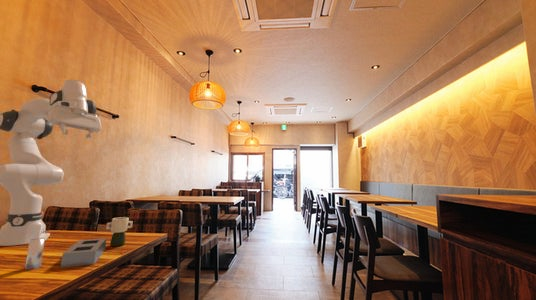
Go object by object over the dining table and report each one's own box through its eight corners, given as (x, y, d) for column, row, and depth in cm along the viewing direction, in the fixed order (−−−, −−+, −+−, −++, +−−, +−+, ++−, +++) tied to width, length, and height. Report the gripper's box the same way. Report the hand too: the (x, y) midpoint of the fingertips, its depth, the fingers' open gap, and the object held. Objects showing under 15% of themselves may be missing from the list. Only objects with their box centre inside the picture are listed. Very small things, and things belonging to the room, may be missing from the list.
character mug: (130, 242, 117) (133, 216, 119) (130, 245, 111) (133, 218, 113) (104, 244, 111) (108, 217, 113) (103, 248, 105) (106, 220, 107)
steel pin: (28, 266, 82) (32, 238, 84) (42, 265, 84) (46, 237, 85) (22, 270, 79) (27, 241, 80) (37, 268, 80) (42, 240, 82)
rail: (78, 251, 100) (79, 240, 100) (105, 249, 104) (106, 238, 105) (60, 268, 82) (62, 253, 82) (94, 264, 86) (95, 250, 87)
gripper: (95, 118, 118) (97, 142, 114) (45, 106, 99) (45, 134, 96) (103, 113, 116) (105, 137, 112) (53, 100, 97) (53, 128, 93)
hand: (77, 136), depth 104 cm, fingers open, 8 cm apart
